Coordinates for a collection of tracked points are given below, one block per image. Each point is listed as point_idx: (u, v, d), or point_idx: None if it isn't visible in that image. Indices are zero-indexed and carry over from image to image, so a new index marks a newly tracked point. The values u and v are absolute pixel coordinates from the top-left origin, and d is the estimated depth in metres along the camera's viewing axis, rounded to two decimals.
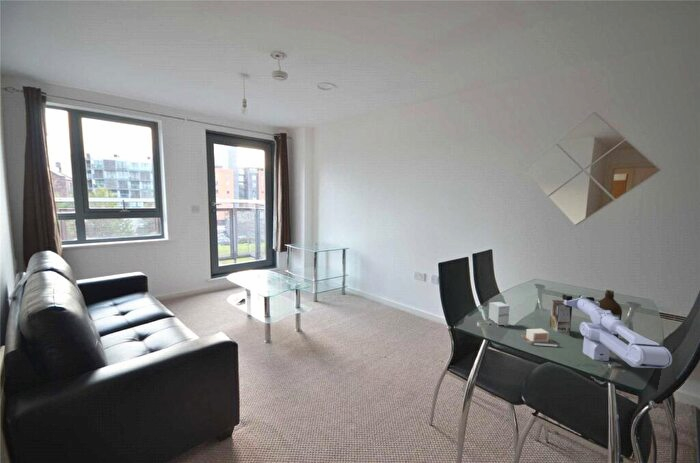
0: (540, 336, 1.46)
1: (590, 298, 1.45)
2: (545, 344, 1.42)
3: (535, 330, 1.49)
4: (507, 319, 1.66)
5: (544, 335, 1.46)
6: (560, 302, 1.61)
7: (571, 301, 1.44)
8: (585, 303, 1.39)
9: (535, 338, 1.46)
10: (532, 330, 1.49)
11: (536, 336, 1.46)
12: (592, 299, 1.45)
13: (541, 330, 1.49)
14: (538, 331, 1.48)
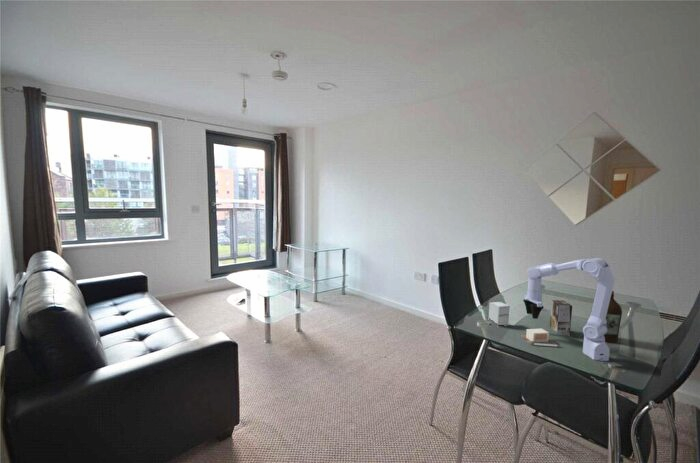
0: (540, 336, 1.46)
1: (525, 300, 1.60)
2: (545, 344, 1.42)
3: (535, 330, 1.49)
4: (507, 319, 1.66)
5: (544, 335, 1.46)
6: (560, 302, 1.61)
7: (535, 302, 1.51)
8: (530, 290, 1.53)
9: (535, 338, 1.46)
10: (532, 330, 1.49)
11: (536, 336, 1.46)
12: (525, 299, 1.60)
13: (541, 330, 1.49)
14: (538, 331, 1.48)
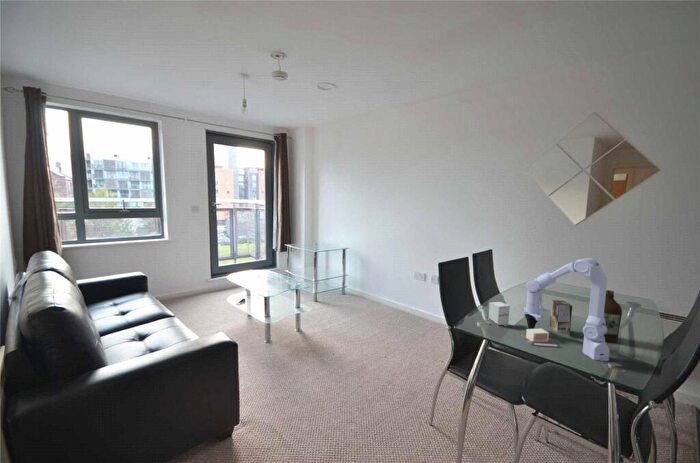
0: (540, 336, 1.46)
1: (526, 315, 1.57)
2: (545, 344, 1.42)
3: (535, 330, 1.49)
4: (507, 319, 1.66)
5: (544, 335, 1.46)
6: (560, 302, 1.61)
7: (534, 315, 1.51)
8: (529, 303, 1.54)
9: (535, 338, 1.46)
10: (532, 330, 1.49)
11: (536, 336, 1.46)
12: (526, 314, 1.58)
13: (541, 330, 1.49)
14: (538, 331, 1.48)
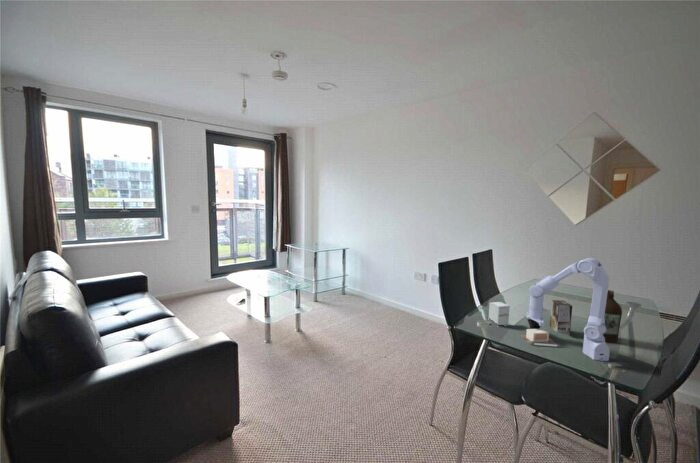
0: (540, 336, 1.46)
1: (529, 320, 1.54)
2: (545, 344, 1.42)
3: (535, 330, 1.49)
4: (507, 319, 1.66)
5: (544, 335, 1.46)
6: (560, 302, 1.61)
7: (537, 320, 1.48)
8: (532, 308, 1.51)
9: (535, 338, 1.46)
10: (532, 330, 1.49)
11: (536, 336, 1.46)
12: (529, 319, 1.55)
13: (541, 330, 1.49)
14: (538, 331, 1.48)
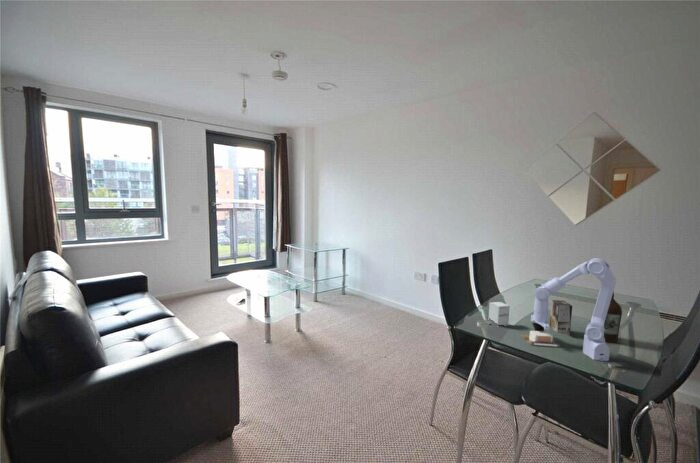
0: (543, 339, 1.43)
1: None
2: (545, 344, 1.42)
3: (538, 332, 1.46)
4: (507, 319, 1.66)
5: (547, 338, 1.43)
6: (560, 302, 1.61)
7: (542, 324, 1.44)
8: (537, 311, 1.46)
9: (537, 341, 1.43)
10: (535, 332, 1.46)
11: (538, 338, 1.43)
12: None
13: (545, 333, 1.46)
14: (542, 333, 1.45)
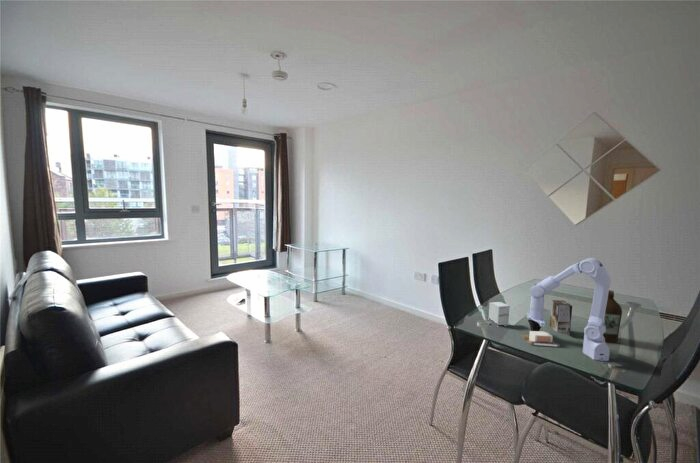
0: (542, 339, 1.43)
1: (530, 320, 1.53)
2: (545, 344, 1.42)
3: (538, 332, 1.46)
4: (507, 319, 1.66)
5: (547, 338, 1.43)
6: (560, 302, 1.61)
7: (538, 321, 1.47)
8: (533, 309, 1.50)
9: (537, 341, 1.43)
10: (535, 332, 1.46)
11: (538, 338, 1.43)
12: (530, 320, 1.54)
13: (545, 333, 1.46)
14: (542, 333, 1.45)
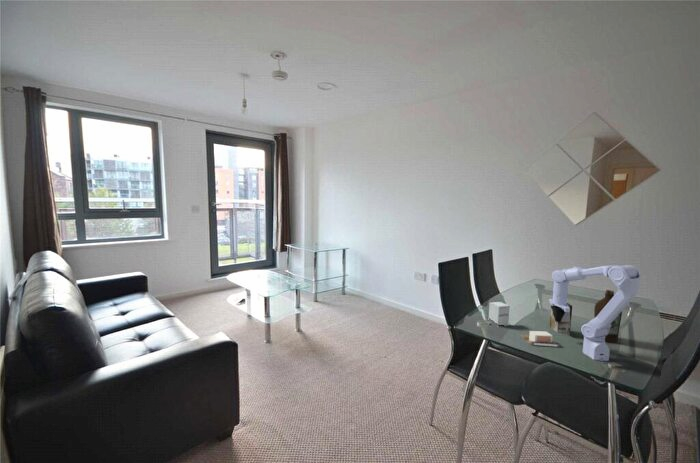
0: (542, 339, 1.43)
1: (553, 306, 1.50)
2: (545, 344, 1.42)
3: (538, 332, 1.46)
4: (507, 319, 1.66)
5: (547, 338, 1.43)
6: None
7: (562, 306, 1.44)
8: (557, 294, 1.47)
9: (537, 341, 1.43)
10: (535, 332, 1.46)
11: (538, 338, 1.43)
12: (553, 306, 1.51)
13: (545, 333, 1.46)
14: (542, 333, 1.45)
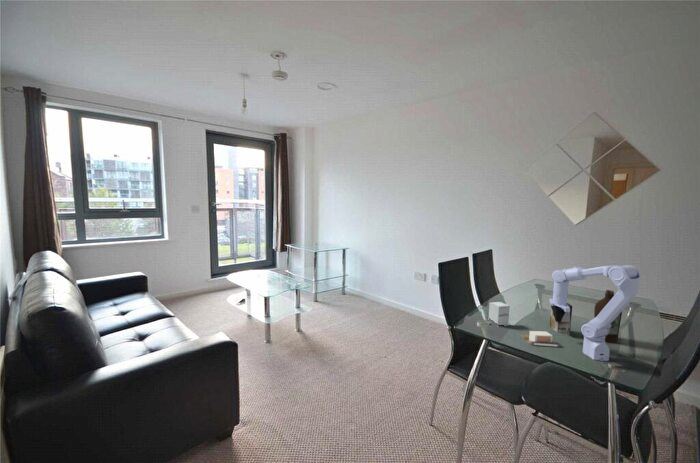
0: (542, 339, 1.43)
1: (553, 306, 1.50)
2: (545, 344, 1.42)
3: (538, 332, 1.46)
4: (507, 319, 1.66)
5: (547, 338, 1.43)
6: None
7: (562, 306, 1.44)
8: (557, 294, 1.47)
9: (537, 341, 1.43)
10: (535, 332, 1.46)
11: (538, 338, 1.43)
12: (553, 306, 1.51)
13: (545, 333, 1.46)
14: (542, 333, 1.45)
